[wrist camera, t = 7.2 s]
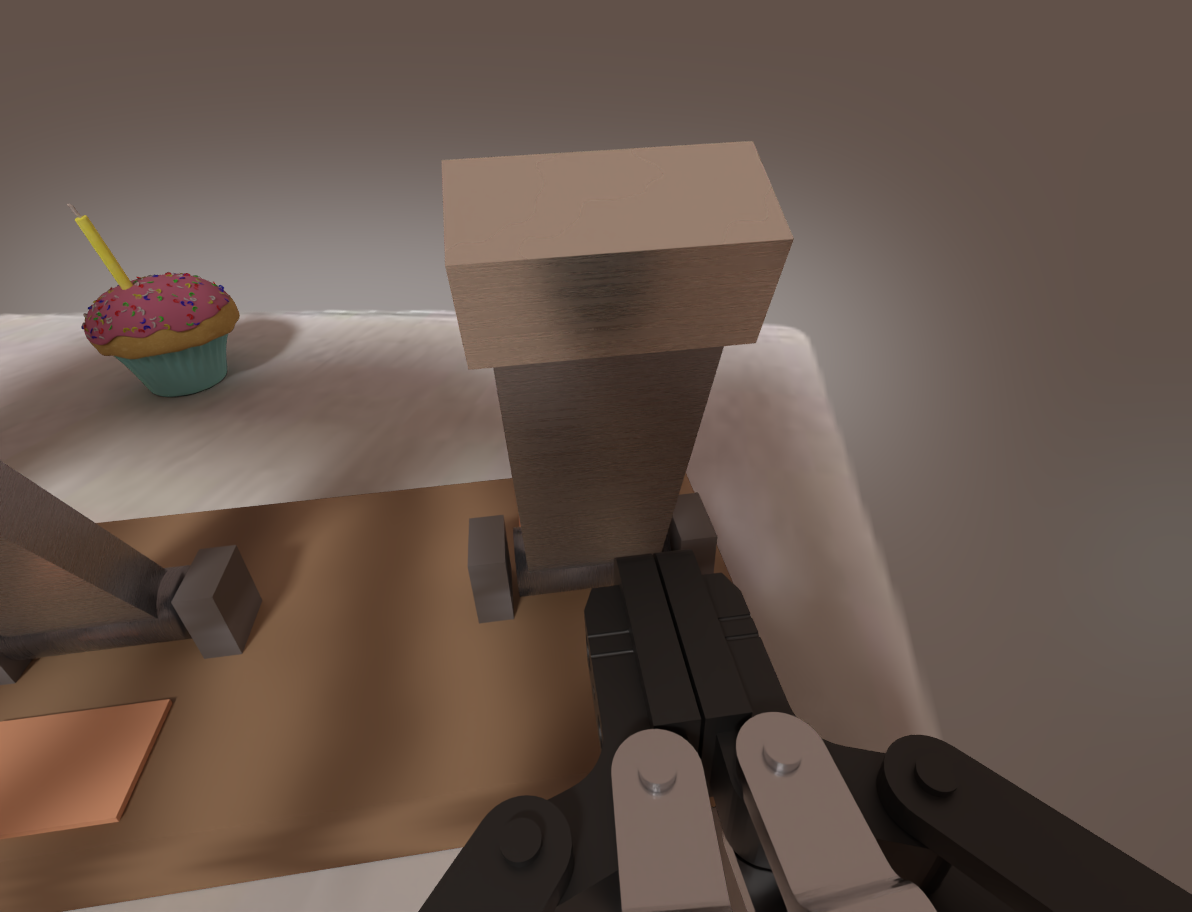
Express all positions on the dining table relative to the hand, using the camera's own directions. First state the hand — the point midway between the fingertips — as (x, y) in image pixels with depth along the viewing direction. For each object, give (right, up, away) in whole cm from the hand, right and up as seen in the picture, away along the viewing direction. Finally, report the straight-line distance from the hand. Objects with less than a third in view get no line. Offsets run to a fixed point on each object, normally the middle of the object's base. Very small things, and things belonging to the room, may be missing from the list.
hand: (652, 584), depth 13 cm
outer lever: (-1, -2, +11) cm, 11 cm away
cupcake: (-29, +8, +32) cm, 44 cm away
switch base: (-9, -5, +12) cm, 16 cm away
